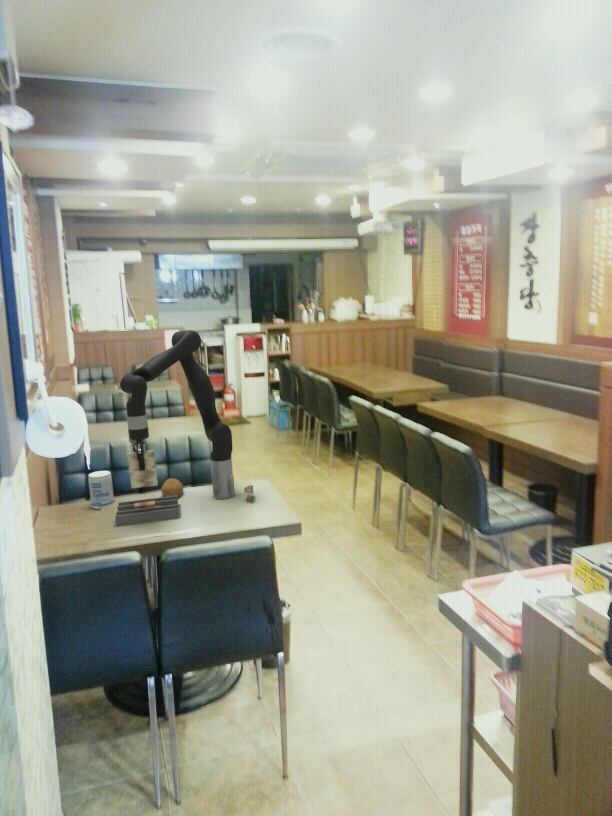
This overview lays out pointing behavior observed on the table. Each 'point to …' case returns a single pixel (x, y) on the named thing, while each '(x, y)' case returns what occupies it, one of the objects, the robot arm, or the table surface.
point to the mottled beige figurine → (249, 491)
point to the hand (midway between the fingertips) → (142, 469)
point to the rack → (148, 511)
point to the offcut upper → (144, 505)
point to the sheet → (145, 476)
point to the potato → (172, 488)
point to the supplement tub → (100, 489)
